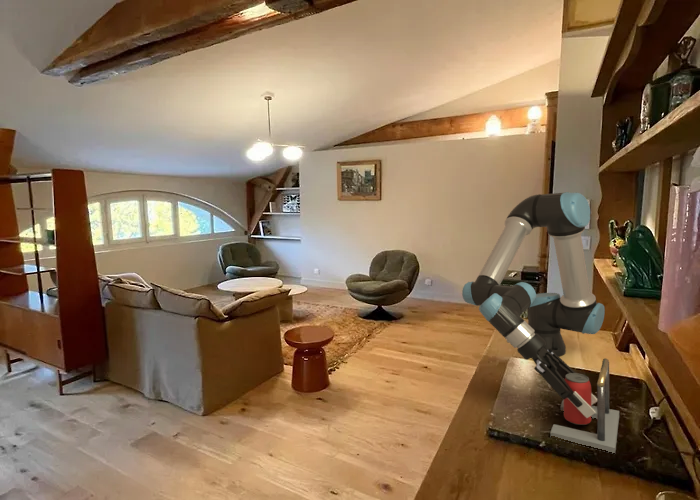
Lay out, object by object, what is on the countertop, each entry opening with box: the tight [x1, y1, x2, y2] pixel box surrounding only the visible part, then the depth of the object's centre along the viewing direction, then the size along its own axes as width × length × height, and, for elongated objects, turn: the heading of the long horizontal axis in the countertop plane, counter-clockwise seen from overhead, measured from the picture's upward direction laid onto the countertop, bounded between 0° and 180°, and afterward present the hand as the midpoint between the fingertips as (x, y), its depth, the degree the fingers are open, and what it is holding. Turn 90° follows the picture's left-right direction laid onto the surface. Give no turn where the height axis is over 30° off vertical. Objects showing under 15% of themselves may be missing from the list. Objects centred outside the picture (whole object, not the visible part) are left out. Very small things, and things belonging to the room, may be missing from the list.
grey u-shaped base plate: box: [549, 399, 620, 454], centre depth 109 cm, size 20×14×2 cm
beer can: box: [563, 372, 592, 426], centre depth 110 cm, size 7×7×12 cm
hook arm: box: [596, 358, 610, 441], centre depth 106 cm, size 17×2×17 cm, turn 144°
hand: (592, 408), depth 108 cm, fingers closed on beer can, 7 cm apart
